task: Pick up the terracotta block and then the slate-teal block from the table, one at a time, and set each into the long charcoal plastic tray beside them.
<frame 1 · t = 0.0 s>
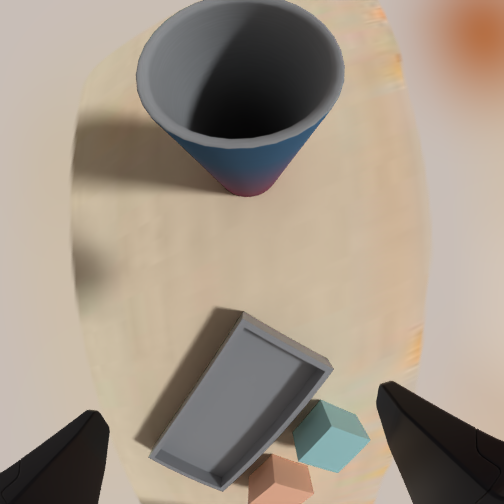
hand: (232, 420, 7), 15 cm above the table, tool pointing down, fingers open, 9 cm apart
tray: (231, 412, 23), on the table
teal block: (324, 423, 23), on the table
terracotta block: (278, 471, 24), on the table
cup: (247, 166, 23), on the table
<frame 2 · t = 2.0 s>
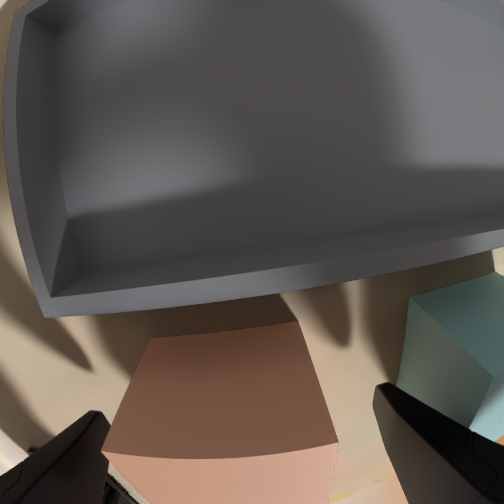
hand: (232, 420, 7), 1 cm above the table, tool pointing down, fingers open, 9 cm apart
tray: (370, 90, 6), on the table
teal block: (447, 334, 9), on the table, touching gripper
terracotta block: (234, 384, 9), on the table
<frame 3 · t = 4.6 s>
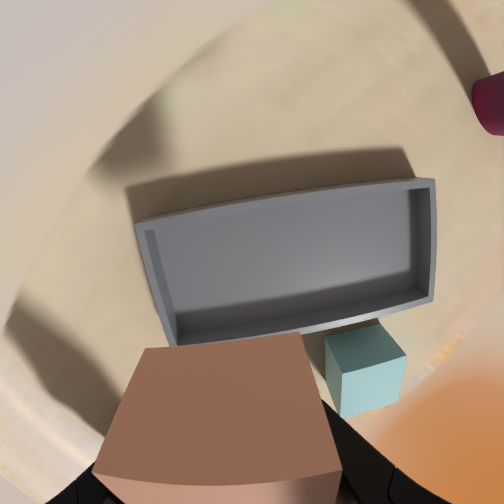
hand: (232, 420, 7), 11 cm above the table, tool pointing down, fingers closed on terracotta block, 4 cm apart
tray: (300, 257, 18), on the table
teal block: (352, 353, 20), on the table
terracotta block: (233, 397, 8), point 10 cm above the table, touching gripper
cup: (488, 107, 15), on the table
when the fingers open (3 cm above the table, at t = 6.5 s): terracotta block drops 1 cm, resting on tray.
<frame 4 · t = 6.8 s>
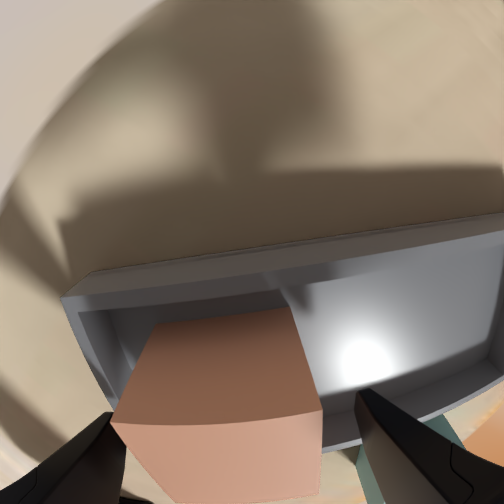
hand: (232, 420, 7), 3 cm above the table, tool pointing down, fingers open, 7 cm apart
tray: (351, 340, 10), on the table
teal block: (394, 436, 13), on the table
terracotta block: (232, 369, 10), resting on tray
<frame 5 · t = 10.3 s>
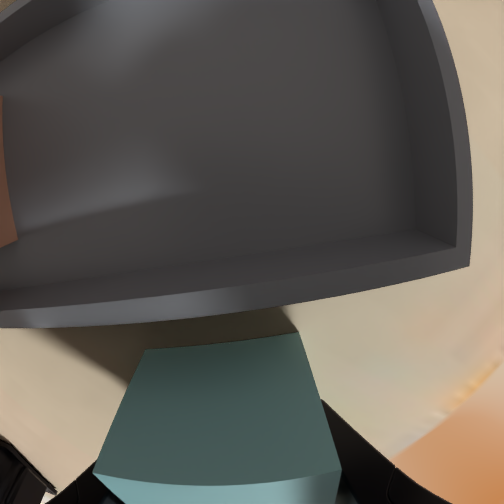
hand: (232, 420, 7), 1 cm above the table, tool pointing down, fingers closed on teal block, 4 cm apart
tray: (69, 138, 6), on the table
teal block: (233, 397, 8), on the table, touching gripper
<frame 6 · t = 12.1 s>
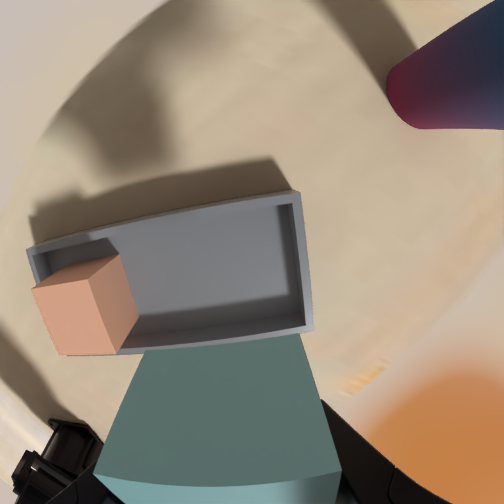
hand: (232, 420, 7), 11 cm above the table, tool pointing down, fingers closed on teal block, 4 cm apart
tray: (162, 278, 18), on the table
teal block: (233, 398, 8), point 10 cm above the table, touching gripper
terracotta block: (101, 290, 18), resting on tray
cup: (414, 96, 15), on the table
when the fingers open (3 cm above the table, at t = 14.0 s): teal block drops 1 cm, resting on tray.
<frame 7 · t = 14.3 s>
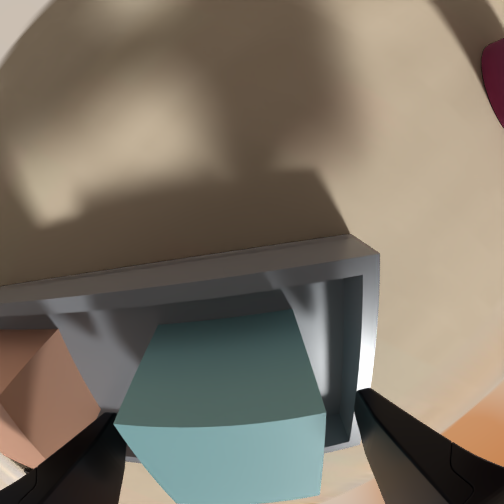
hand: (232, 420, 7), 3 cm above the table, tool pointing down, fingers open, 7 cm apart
tray: (126, 367, 10), on the table
teal block: (234, 370, 10), resting on tray
terracotta block: (46, 370, 10), resting on tray
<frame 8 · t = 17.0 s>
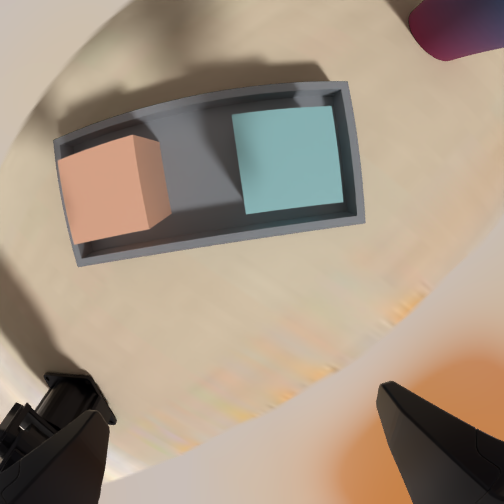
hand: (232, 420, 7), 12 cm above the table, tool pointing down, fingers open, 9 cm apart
tray: (202, 170, 17), on the table
teal block: (277, 160, 16), resting on tray
terracotta block: (131, 185, 16), resting on tray
cup: (432, 35, 14), on the table
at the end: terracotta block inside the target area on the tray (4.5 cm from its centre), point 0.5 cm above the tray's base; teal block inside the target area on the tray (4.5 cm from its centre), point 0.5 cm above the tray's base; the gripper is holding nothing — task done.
